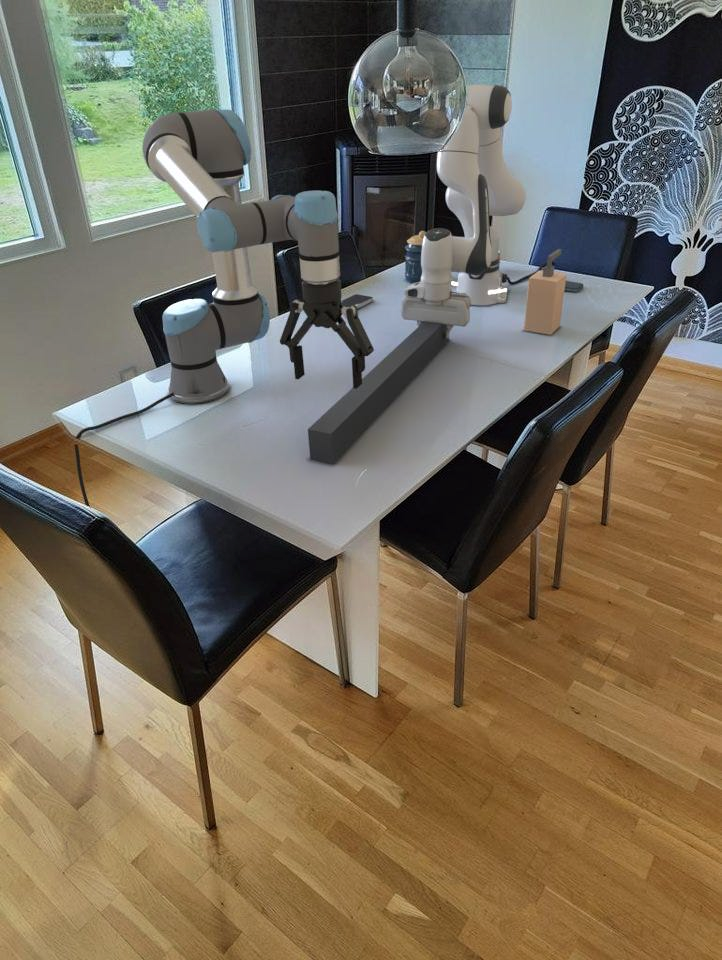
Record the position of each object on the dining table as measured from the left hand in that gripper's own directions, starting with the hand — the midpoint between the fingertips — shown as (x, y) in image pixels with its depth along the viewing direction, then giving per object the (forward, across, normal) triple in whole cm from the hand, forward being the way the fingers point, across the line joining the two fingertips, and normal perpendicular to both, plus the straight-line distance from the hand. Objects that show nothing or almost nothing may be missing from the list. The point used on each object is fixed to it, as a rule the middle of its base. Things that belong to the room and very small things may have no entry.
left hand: (328, 381), depth 140 cm
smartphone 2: (+16, -23, -135) cm, 138 cm away
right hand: (+14, 0, -67) cm, 69 cm away
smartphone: (+16, +39, -92) cm, 101 cm away
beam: (+17, 0, -34) cm, 38 cm away
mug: (+16, +6, -145) cm, 146 cm away
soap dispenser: (+17, -26, -93) cm, 98 cm away
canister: (+16, +28, -128) cm, 132 cm away
